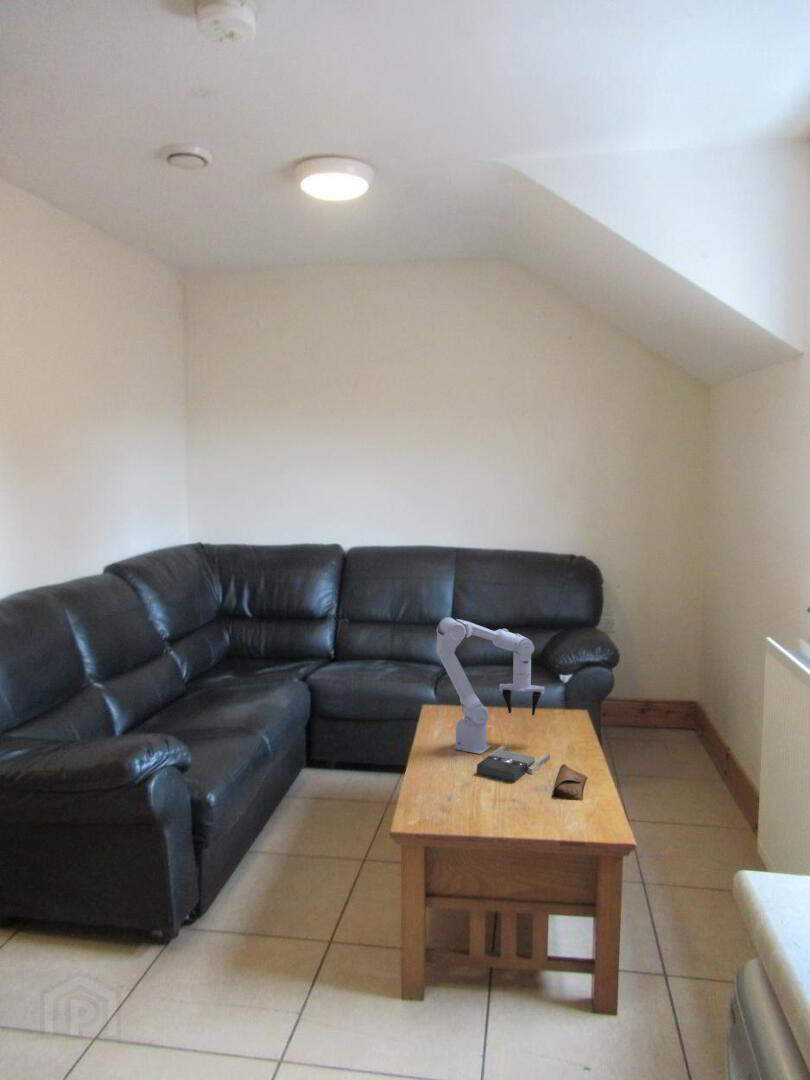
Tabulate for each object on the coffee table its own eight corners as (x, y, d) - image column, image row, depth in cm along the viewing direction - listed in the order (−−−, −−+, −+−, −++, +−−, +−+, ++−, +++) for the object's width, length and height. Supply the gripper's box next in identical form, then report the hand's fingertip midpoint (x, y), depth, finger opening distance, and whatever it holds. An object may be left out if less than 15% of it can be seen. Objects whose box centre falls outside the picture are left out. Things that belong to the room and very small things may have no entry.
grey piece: (486, 767, 231) (486, 757, 231) (498, 758, 239) (498, 748, 239) (522, 776, 225) (522, 765, 225) (534, 766, 233) (534, 756, 232)
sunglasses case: (584, 801, 207) (571, 779, 208) (561, 811, 209) (549, 789, 210) (588, 776, 224) (576, 756, 225) (567, 785, 227) (556, 765, 227)
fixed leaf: (477, 774, 226) (477, 763, 226) (490, 764, 234) (490, 754, 234) (514, 782, 220) (514, 772, 220) (526, 772, 228) (526, 762, 227)
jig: (484, 763, 235) (484, 758, 235) (503, 749, 247) (503, 744, 247) (532, 773, 226) (532, 769, 226) (549, 758, 238) (549, 754, 238)
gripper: (498, 674, 247) (497, 715, 248) (543, 677, 243) (542, 718, 245) (501, 669, 254) (500, 708, 255) (545, 671, 250) (544, 712, 251)
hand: (521, 713), depth 250 cm, fingers open, 7 cm apart
